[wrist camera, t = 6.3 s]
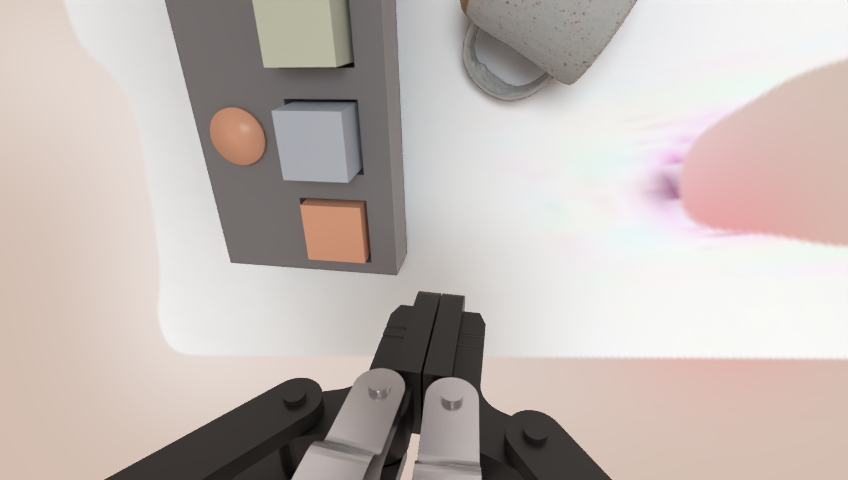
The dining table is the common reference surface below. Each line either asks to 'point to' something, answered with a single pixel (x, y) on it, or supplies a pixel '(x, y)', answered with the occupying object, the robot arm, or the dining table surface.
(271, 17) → the sage key
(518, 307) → the dining table surface
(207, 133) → the key panel
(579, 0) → the ceramic mug
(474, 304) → the dining table surface
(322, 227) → the terracotta key
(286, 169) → the blue key
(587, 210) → the dining table surface
